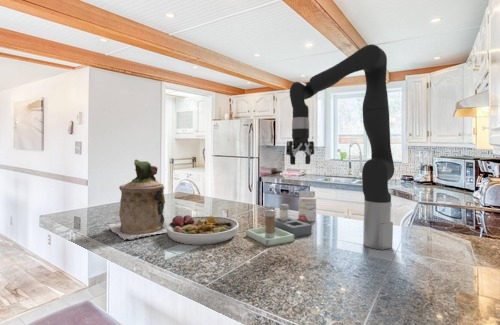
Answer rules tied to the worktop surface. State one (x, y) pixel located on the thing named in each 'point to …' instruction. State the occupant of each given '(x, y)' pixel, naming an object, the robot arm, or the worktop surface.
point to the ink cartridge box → (307, 206)
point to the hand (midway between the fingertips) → (300, 164)
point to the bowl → (201, 229)
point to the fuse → (284, 212)
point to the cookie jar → (141, 205)
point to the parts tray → (279, 238)
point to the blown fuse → (270, 224)
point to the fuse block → (294, 226)
